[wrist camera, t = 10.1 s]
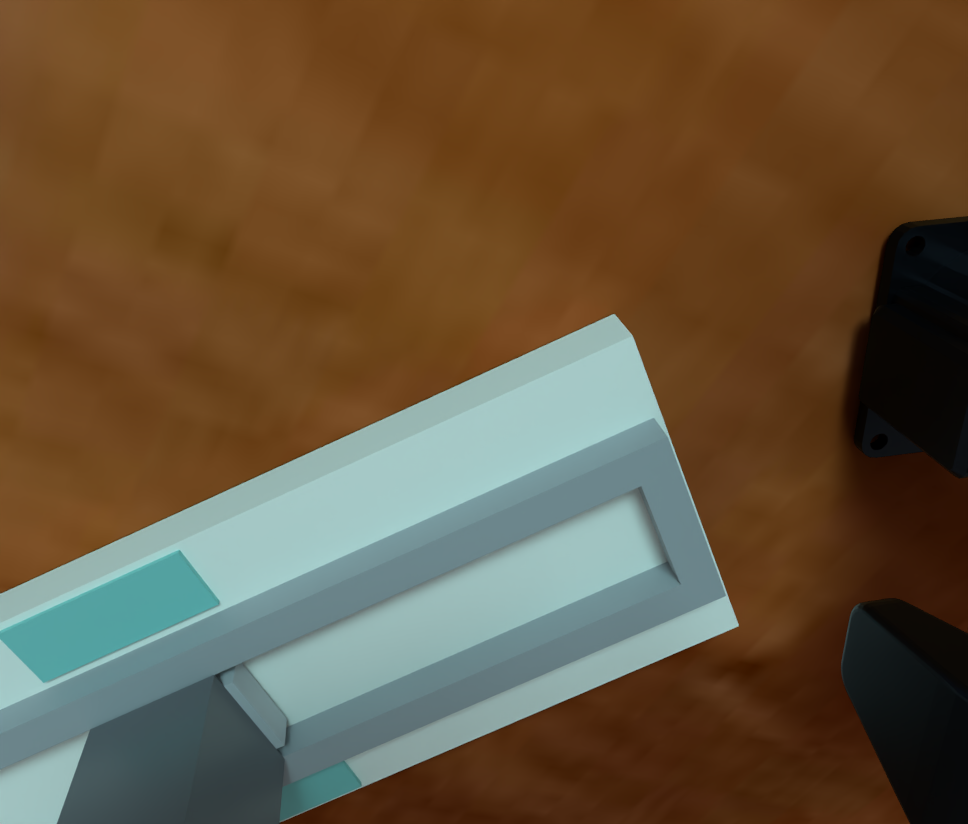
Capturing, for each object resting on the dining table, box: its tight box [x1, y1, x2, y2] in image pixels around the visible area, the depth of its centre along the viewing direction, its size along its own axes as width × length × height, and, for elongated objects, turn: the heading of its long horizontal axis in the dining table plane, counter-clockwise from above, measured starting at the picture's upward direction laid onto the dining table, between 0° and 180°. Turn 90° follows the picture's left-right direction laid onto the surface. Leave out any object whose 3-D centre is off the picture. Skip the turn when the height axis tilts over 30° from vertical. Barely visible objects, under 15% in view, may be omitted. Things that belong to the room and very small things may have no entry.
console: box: [0, 314, 739, 824], centre depth 23 cm, size 28×10×2 cm, turn 113°
